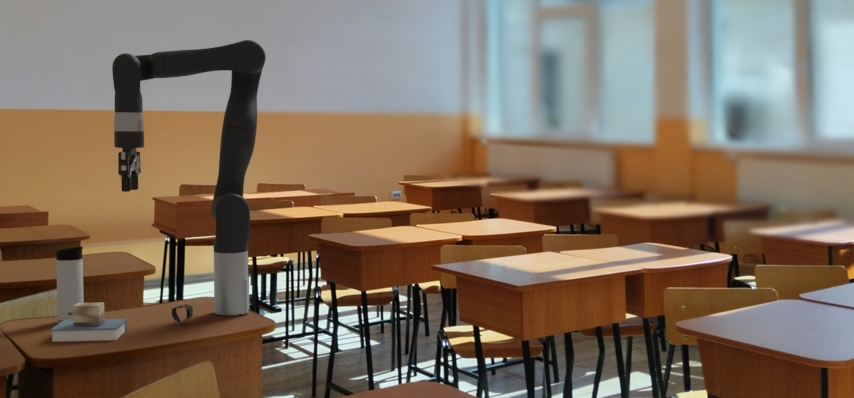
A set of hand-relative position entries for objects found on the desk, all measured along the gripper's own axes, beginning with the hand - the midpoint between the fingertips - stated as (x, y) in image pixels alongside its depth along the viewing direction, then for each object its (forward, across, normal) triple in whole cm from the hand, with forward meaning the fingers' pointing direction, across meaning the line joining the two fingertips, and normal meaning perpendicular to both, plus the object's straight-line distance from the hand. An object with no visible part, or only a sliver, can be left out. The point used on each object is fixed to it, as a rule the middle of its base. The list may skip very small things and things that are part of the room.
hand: (130, 190), depth 214 cm
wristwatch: (+34, -10, -15) cm, 39 cm away
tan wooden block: (+31, -23, +5) cm, 39 cm away
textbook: (+35, -22, +5) cm, 41 cm away
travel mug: (+34, -6, +14) cm, 38 cm away
